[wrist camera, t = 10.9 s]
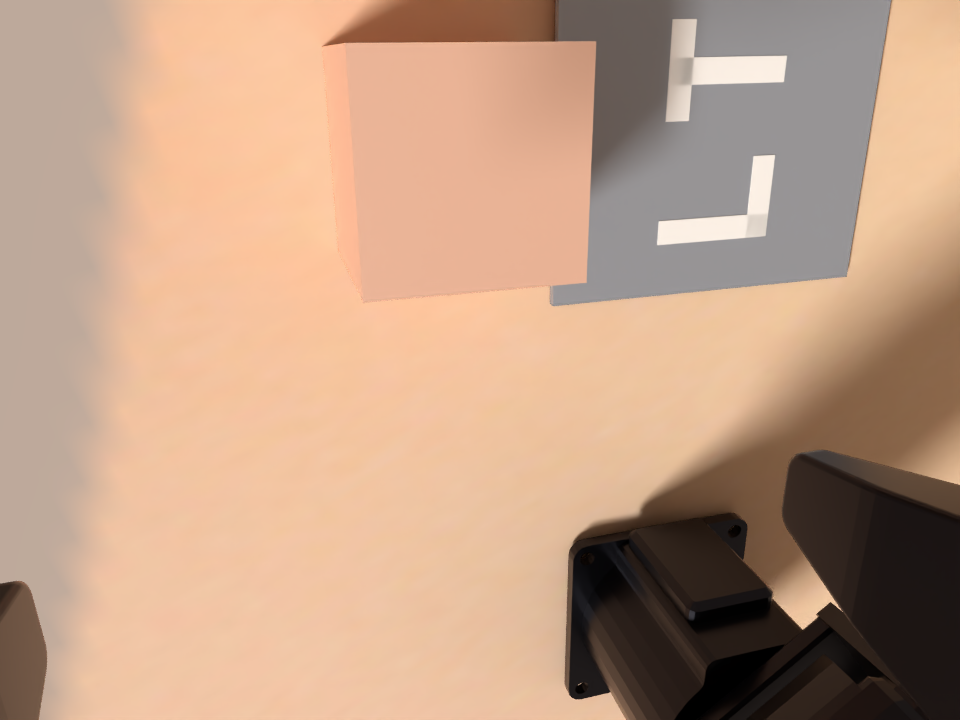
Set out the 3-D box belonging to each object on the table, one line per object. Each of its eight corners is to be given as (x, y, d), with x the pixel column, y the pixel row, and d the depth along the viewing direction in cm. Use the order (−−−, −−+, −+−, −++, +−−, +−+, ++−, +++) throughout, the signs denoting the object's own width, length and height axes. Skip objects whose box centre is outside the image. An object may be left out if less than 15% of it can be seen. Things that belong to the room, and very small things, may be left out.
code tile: (841, 274, 25) (846, 276, 25) (550, 303, 23) (553, 306, 23) (890, -37, 22) (897, -38, 22) (555, -41, 20) (560, -43, 19)
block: (516, 236, 22) (586, 283, 17) (337, 249, 21) (362, 302, 16) (518, 45, 20) (596, 41, 16) (321, 46, 19) (345, 42, 14)
